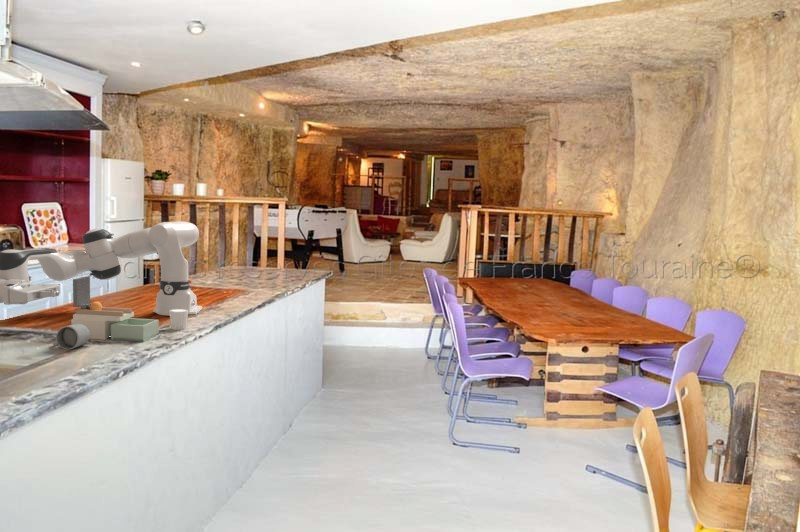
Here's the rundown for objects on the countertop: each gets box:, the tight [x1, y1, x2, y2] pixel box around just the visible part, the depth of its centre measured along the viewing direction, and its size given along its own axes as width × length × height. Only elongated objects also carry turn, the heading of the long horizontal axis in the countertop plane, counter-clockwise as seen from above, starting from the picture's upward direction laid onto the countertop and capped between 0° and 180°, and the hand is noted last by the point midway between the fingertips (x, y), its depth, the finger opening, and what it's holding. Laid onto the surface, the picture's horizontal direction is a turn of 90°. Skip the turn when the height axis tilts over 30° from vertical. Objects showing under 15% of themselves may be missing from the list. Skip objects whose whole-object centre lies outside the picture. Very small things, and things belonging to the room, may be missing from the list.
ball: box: [90, 301, 103, 310], centre depth 229 cm, size 4×4×4 cm
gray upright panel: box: [72, 276, 92, 310], centre depth 229 cm, size 8×4×12 cm, turn 175°
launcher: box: [71, 306, 135, 341], centre depth 229 cm, size 12×17×10 cm
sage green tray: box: [110, 317, 160, 343], centre depth 229 cm, size 12×12×6 cm
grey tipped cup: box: [52, 324, 90, 351], centre depth 212 cm, size 11×8×8 cm
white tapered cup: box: [169, 309, 188, 331], centre depth 246 cm, size 7×7×7 cm
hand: (57, 293), depth 230 cm, fingers closed
